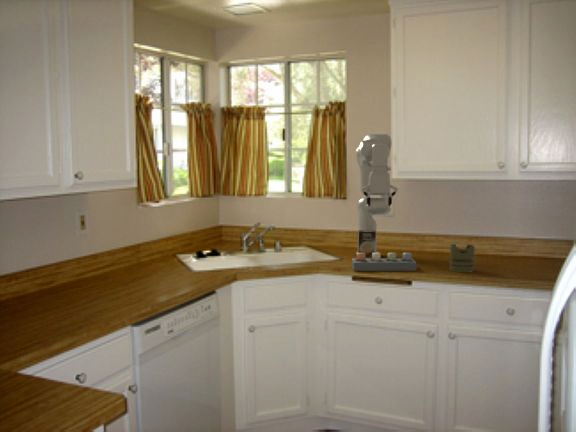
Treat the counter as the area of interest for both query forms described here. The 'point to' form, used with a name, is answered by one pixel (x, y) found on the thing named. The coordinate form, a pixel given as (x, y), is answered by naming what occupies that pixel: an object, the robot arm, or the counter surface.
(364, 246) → the coffee box
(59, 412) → the counter surface
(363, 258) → the terracotta button
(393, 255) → the sage button
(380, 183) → the robot arm
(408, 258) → the slate button
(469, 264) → the olive tactical vest
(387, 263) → the console
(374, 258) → the cream button
